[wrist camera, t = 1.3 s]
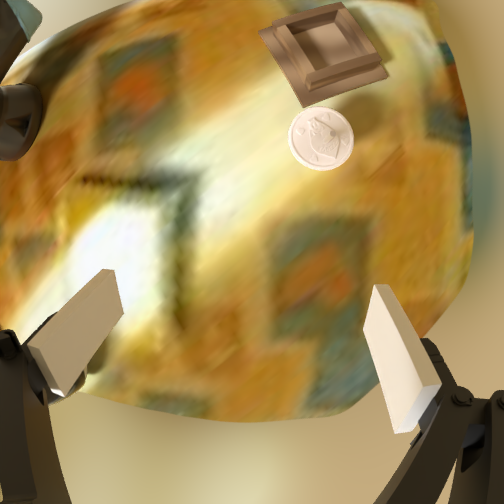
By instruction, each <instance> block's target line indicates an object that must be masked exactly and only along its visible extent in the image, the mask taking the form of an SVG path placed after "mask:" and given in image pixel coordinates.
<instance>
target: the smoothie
mask: <svg viewBox="0 0 504 504" xmlns="http://www.w3.org/2000/svg"><path fill="white" fill-rule="evenodd" d="M288 142H289V147H290V149H291V151H292V153H293V155H294V156H295V157H296V159H297V160H298V161H299V162H300V163H302V164H303V165H304V166H306V167H309V168H311V169H313V170H320V171H325V170H331V169H334V168H336V167H338V166H340V165H341V164H342V163H344V162H345V161H346V160H347V159H348V157H349V156H350V154H351V152H352V150H353V146H354V134H353V130H352V128H351V125H350V124H349V122H348V121H347V119H346V118H345V117H344V116H343V115H342V114H340V113H339V112H337V111H336V110H334V109H331V108H328V107H323V106H316V107H310V108H307V109H305V110H303V111H302V112H300V113H299V114H298V115H297V116H296V117H295V118H294V120H293V121H292V123H291V125H290V128H289V132H288Z"/></svg>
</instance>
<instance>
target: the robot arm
mask: <svg viewBox="0 0 504 504" xmlns="http://www.w3.org/2000/svg"><path fill="white" fill-rule="evenodd" d="M41 22H42V14H41V12H40V11H39V10H38V9H37V8H35V7H34V6H33V5H32V4H31V3H29V1H27V0H0V84H1V82H2V80H3V79H4V77H5V75H6V74H7V72H8V70H9V69H10V67H11V66H12V64H13V62H14V61H15V59H16V58H17V56H18V55H19V53H20V52H21V50H22V49H23V48H24V46H25V45H26V43H29V41H30V39H31V36H32V35H33V34H34V33H35V31H36V30H37V28H38V27H39V25H40V24H41ZM41 115H42V97H41V94H40V91H39V90H38V88H37V87H35V86H33V85H30V84H27V83H19V84H16V85H7V86H0V160H1V161H16V160H18V159H19V158H21V157H22V156H23V155H24V154H25V153H26V152H27V150H28V149H29V148H30V146H31V144H32V143H33V141H34V138H35V136H36V134H37V131H38V128H39V125H40V121H41ZM123 314H124V312H123V308H122V304H121V300H120V295H119V291H118V286H117V282H116V277H115V272H114V270H108V269H102V270H101V271H100V272H99V273H98V274H97V275H96V276H94V277H93V278H92V279H91V280H90V281H89V282H88V283H87V284H86V285H85V286H84V287H83V288H82V289H81V290H80V291H79V292H77V293H76V294H75V295H74V296H73V297H72V298H71V299H70V300H69V301H68V302H67V303H66V304H65V305H64V306H63V307H62V308H61V309H60V310H59V311H58V312H56V313H54V314H53V315H51V316H49V317H48V318H47V319H46V320H45V321H44V322H43V323H42V325H40V326H39V327H38V328H37V330H35V331H34V332H33V333H32V334H31V336H30V337H29V338H28V339H27V340H26V341H25V342H24V343H23V344H22V345H20V342H19V340H18V338H17V336H16V334H15V332H14V331H13V330H10V329H7V330H3V331H0V482H1V489H2V495H3V501H2V502H0V504H72V503H71V500H70V497H69V494H68V490H67V487H66V484H65V481H64V477H63V474H62V471H61V467H60V463H59V459H58V455H57V451H56V447H55V442H54V437H53V432H52V427H51V421H50V415H49V408H48V401H47V394H46V391H45V389H44V387H45V385H46V384H48V385H49V387H50V389H51V391H52V392H53V393H56V394H58V395H61V396H63V397H65V396H66V395H67V393H68V392H69V390H70V389H71V387H72V386H73V384H74V383H75V381H76V380H77V378H78V377H79V375H80V374H81V372H82V371H83V369H84V368H85V367H86V365H87V364H88V362H89V361H90V359H91V358H92V357H93V355H94V354H95V352H96V351H97V349H98V348H99V347H100V345H101V344H102V342H103V341H104V340H105V338H106V337H107V336H108V334H109V333H110V331H111V330H112V329H113V327H114V326H115V325H116V323H117V322H118V321H119V319H120V318H121V317H122V315H123ZM363 331H364V334H365V337H366V340H367V343H368V346H369V349H370V352H371V355H372V358H373V361H374V364H375V367H376V371H377V374H378V377H379V380H380V383H381V387H382V390H383V394H384V397H385V401H386V404H387V408H388V411H389V415H390V418H391V422H392V426H393V430H394V434H396V433H403V432H409V431H412V430H413V429H414V427H415V426H416V424H417V423H419V426H420V429H421V430H420V432H419V433H418V434H417V436H416V437H415V438H414V440H413V441H412V442H411V443H410V445H411V447H410V449H409V450H408V452H407V454H406V456H405V457H404V459H403V461H402V462H401V464H400V465H399V467H398V469H397V470H396V472H395V473H394V475H393V476H392V478H391V479H390V481H389V482H388V484H387V485H386V487H385V488H384V490H383V491H382V493H381V494H380V495H379V497H378V498H377V499H376V501H375V502H374V503H373V504H435V503H436V502H437V500H438V498H439V496H440V494H441V492H442V490H443V488H444V486H445V483H446V481H447V479H448V477H449V475H450V472H451V470H452V468H453V466H454V463H455V461H456V459H457V462H456V467H455V473H454V479H453V484H452V489H451V493H450V498H449V502H448V504H504V390H498V391H496V392H494V393H493V395H492V396H491V398H490V399H480V398H474V396H473V394H472V393H471V392H470V391H469V390H468V389H466V388H464V387H461V386H457V384H456V382H455V380H454V378H453V376H452V374H451V372H450V370H449V368H448V367H447V365H446V363H445V362H444V359H443V357H442V356H441V355H440V352H439V350H438V348H437V347H436V345H435V344H434V343H433V342H431V341H430V340H429V339H428V338H420V339H419V337H418V335H417V333H416V332H415V330H414V328H413V326H412V324H411V323H410V321H409V319H408V317H407V315H406V314H405V312H404V310H403V308H402V307H401V305H400V303H399V302H398V300H397V298H396V296H395V295H394V293H393V291H392V290H391V288H390V286H389V285H386V284H374V287H373V292H372V296H371V300H370V305H369V309H368V313H367V317H366V321H365V324H364V328H363Z"/></svg>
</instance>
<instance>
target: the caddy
mask: <svg viewBox="0 0 504 504" xmlns="http://www.w3.org/2000/svg"><path fill="white" fill-rule="evenodd" d="M272 25H273V26H271V27H268V28H265V29H262V30H260V31H258V33H259V35H260V36H261V38H262V40H263V41H264V43H265V44H266V46H267V47H268V49H269V50H270V52H271V54H272V55H273V57H274V59H275V60H276V62H277V63H278V65H279V67H280V68H281V70H282V72H283V73H284V75H285V77H286V79H287V80H288V82H289V84H290V85H291V87H292V89H293V91H294V93H295V94H296V96H297V98H298V100H299V102H300V103H301V105H302V107H303V108H305V107H307V106H310V105H312V104H315V103H317V102H320V101H323V100H325V99H328V98H330V97H333V96H336V95H339V94H341V93H344V92H347V91H350V90H353V89H356V88H359V87H362V86H365V85H368V84H371V83H374V82H377V81H380V80H384V79H386V78H387V77H388V76H387V74H386V72H385V71H384V69H383V67H382V66H381V64H380V62H381V60H382V59H381V58H380V56H379V54H378V53H377V51H376V50H375V48H374V47H373V45H372V44H371V42H370V41H369V39H368V38H367V36H366V35H365V33H364V32H363V30H362V29H361V28H360V26H359V25H358V23H357V22H356V21H355V19H354V18H353V17H352V15H351V14H350V13H349V11H348V10H347V9H346V7H345V6H344V5H343V4H342V2H338V3H334V4H329V5H325V6H321V7H318V8H314V9H310V10H307V11H303V12H300V13H296V14H293V15H290V16H287V17H284V18H281V19H278V20H275V21H272Z"/></svg>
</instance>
